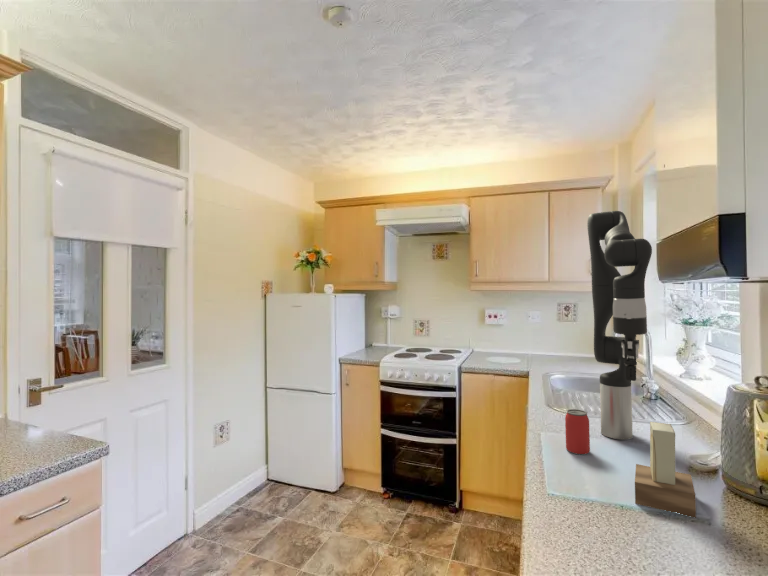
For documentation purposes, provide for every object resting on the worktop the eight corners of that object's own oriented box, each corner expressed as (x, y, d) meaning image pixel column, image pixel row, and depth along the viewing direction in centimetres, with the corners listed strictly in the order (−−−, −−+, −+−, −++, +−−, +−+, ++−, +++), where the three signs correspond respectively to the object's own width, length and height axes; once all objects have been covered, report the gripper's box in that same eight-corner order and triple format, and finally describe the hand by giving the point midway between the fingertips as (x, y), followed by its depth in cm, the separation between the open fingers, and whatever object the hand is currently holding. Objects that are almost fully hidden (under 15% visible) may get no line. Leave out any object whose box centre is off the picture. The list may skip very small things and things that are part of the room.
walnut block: (636, 483, 100) (636, 463, 100) (691, 495, 93) (690, 474, 93) (635, 503, 90) (634, 481, 91) (696, 518, 84) (695, 494, 84)
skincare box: (650, 470, 96) (648, 420, 96) (672, 474, 94) (671, 423, 94) (653, 482, 90) (651, 429, 90) (676, 486, 88) (675, 432, 88)
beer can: (570, 445, 125) (569, 407, 125) (593, 450, 120) (592, 411, 120) (562, 451, 120) (561, 412, 120) (585, 457, 116) (584, 416, 116)
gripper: (614, 312, 111) (616, 369, 112) (611, 317, 99) (613, 381, 100) (645, 312, 107) (647, 371, 107) (647, 318, 95) (649, 384, 96)
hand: (631, 376), depth 104 cm, fingers open, 8 cm apart
